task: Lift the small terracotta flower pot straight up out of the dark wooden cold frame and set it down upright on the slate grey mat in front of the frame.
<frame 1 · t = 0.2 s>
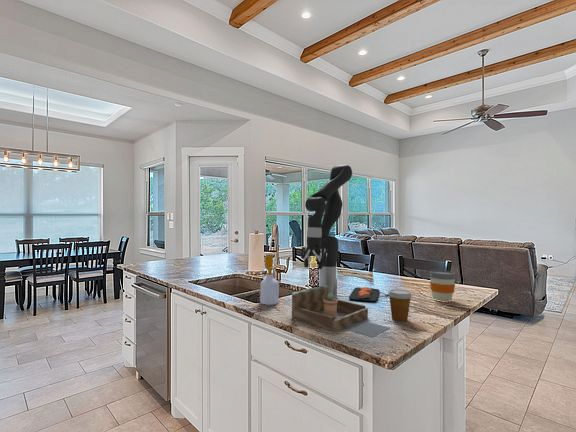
hand: (313, 268, 162), 17 cm above the counter, tool pointing down, fingers open, 8 cm apart
slate mat: (367, 328, 125), on the counter
cold frame: (330, 318, 137), on the counter
reusable coffee cup: (442, 300, 170), on the counter
disposable coffee cup: (399, 319, 136), on the counter
soap bottle: (269, 303, 160), on the counter
sushi plate: (379, 298, 175), on the counter
terracotta pot: (330, 318, 137), resting in cold frame
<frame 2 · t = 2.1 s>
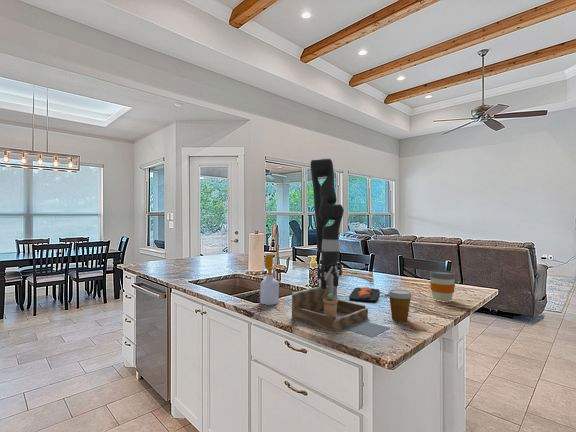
hand: (329, 287, 137), 13 cm above the counter, tool pointing down, fingers open, 8 cm apart
nothing on the counter moved.
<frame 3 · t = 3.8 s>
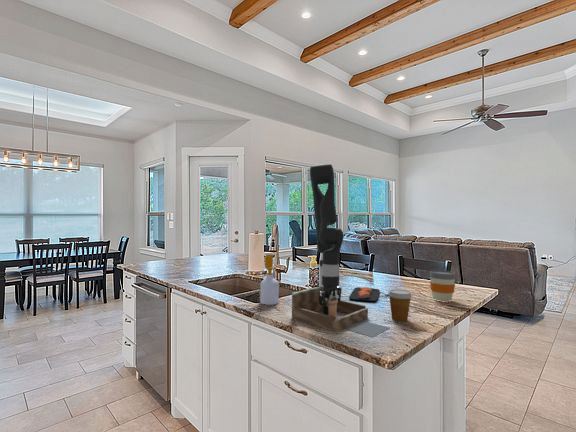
hand: (330, 313, 137), 2 cm above the counter, tool pointing down, fingers closed on terracotta pot, 5 cm apart
terracotta pot: (330, 318, 137), resting in cold frame, touching gripper
everything else where it was.
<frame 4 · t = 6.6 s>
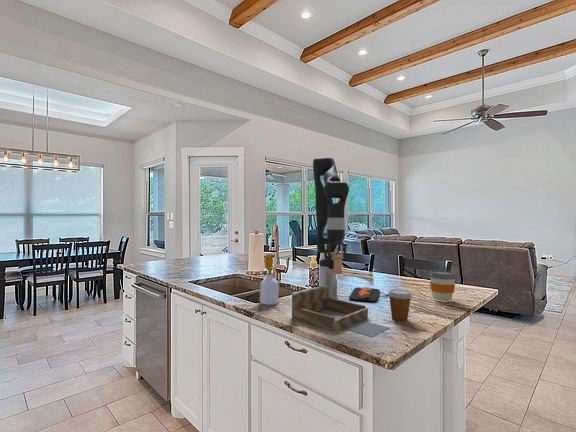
hand: (335, 268, 135), 22 cm above the counter, tool pointing down, fingers closed on terracotta pot, 5 cm apart
terracotta pot: (335, 272, 135), point 20 cm above the counter, touching gripper
everything else where it was.
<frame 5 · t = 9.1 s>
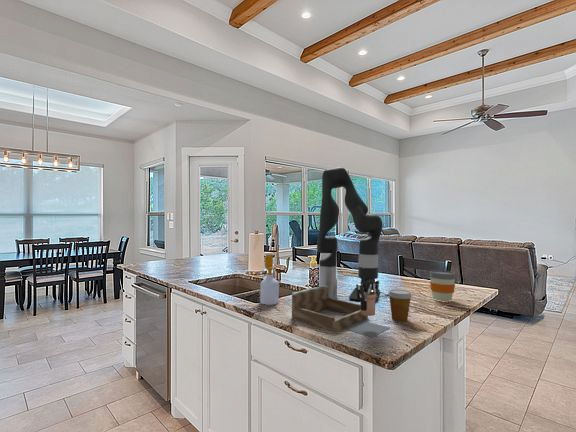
hand: (367, 308, 125), 8 cm above the counter, tool pointing down, fingers closed on terracotta pot, 5 cm apart
terracotta pot: (367, 313, 125), point 6 cm above the counter, touching gripper
everything else where it was.
when the fingers open (3 cm above the counter, at t = 10.4 s): terracotta pot drops 1 cm, resting on slate mat.
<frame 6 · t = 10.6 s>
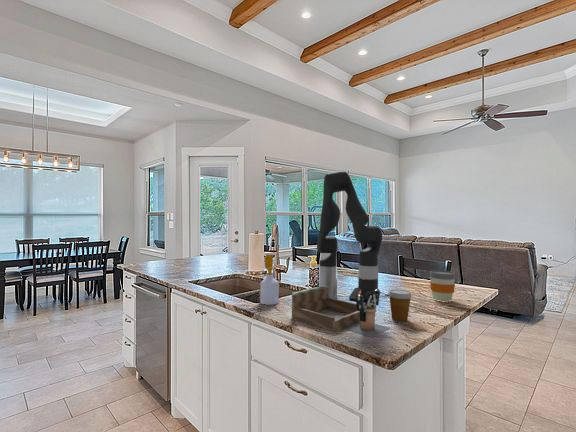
hand: (367, 319, 125), 4 cm above the counter, tool pointing down, fingers open, 6 cm apart
terracotta pot: (367, 328, 125), resting on slate mat, touching gripper
everything else where it was.
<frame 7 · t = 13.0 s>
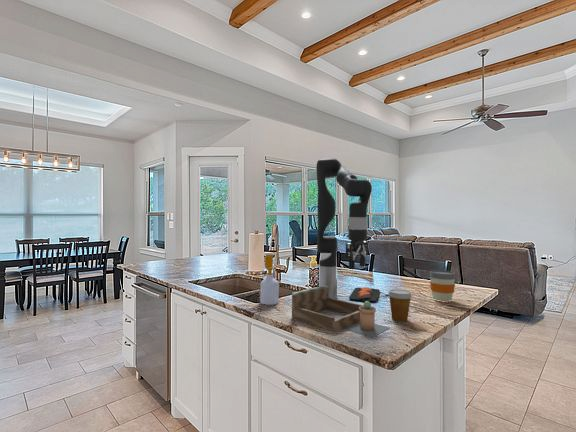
hand: (357, 267, 131), 23 cm above the counter, tool pointing down, fingers open, 8 cm apart
terracotta pot: (367, 328, 125), resting on slate mat
everything else where it was.
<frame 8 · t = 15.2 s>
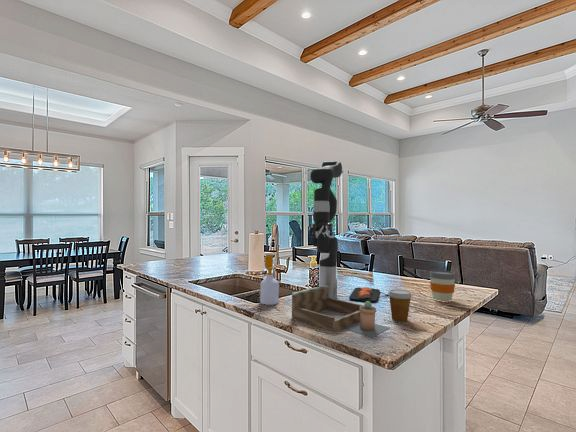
hand: (321, 245, 149), 30 cm above the counter, tool pointing down, fingers open, 8 cm apart
nothing on the counter moved.
at the end: terracotta pot inside the target area on the slate mat (0.2 cm from its centre), point 0.4 cm above the slate mat's base; terracotta pot tilted 1°; the gripper is holding nothing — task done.
